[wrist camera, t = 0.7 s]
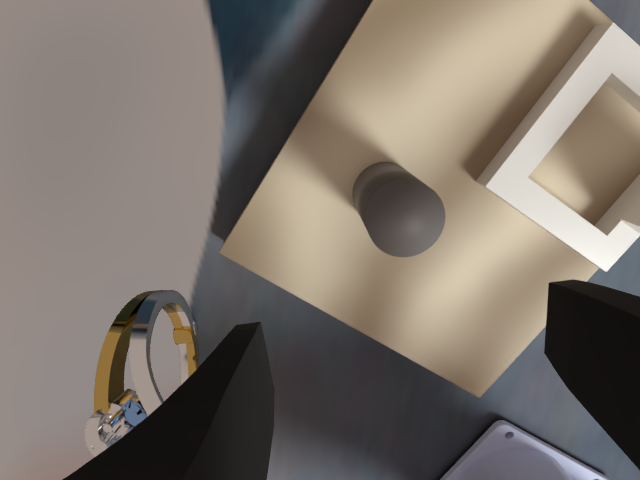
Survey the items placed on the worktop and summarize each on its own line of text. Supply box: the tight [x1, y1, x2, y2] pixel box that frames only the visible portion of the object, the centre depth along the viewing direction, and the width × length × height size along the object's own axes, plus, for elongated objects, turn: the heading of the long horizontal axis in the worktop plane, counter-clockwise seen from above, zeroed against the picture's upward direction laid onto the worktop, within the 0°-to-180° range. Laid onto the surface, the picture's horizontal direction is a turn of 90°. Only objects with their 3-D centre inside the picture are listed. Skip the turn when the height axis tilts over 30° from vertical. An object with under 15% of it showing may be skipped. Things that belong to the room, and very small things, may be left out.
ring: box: [85, 290, 200, 457], centre depth 17 cm, size 7×3×8 cm, turn 3°
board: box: [219, 0, 640, 398], centre depth 16 cm, size 15×16×6 cm
